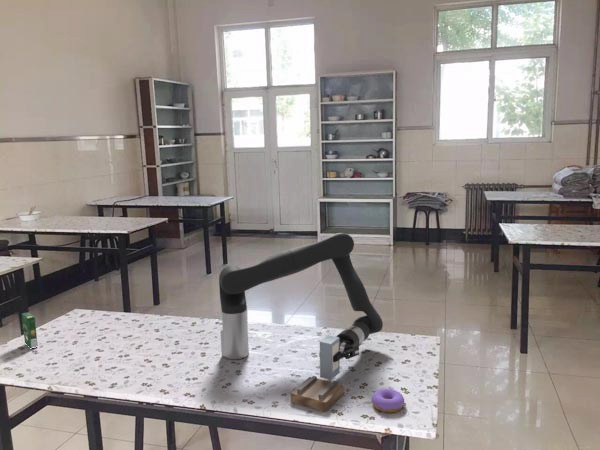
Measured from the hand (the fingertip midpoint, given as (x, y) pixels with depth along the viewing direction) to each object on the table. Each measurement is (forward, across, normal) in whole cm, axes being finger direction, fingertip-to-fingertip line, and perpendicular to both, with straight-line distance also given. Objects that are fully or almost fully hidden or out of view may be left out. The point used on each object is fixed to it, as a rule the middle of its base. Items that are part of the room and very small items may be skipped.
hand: (327, 357), depth 160 cm
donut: (+3, +22, +9) cm, 24 cm away
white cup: (-29, -57, +10) cm, 65 cm away
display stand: (+9, +1, +9) cm, 13 cm away
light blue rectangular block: (-2, 0, +7) cm, 7 cm away
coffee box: (+24, -120, +11) cm, 123 cm away
